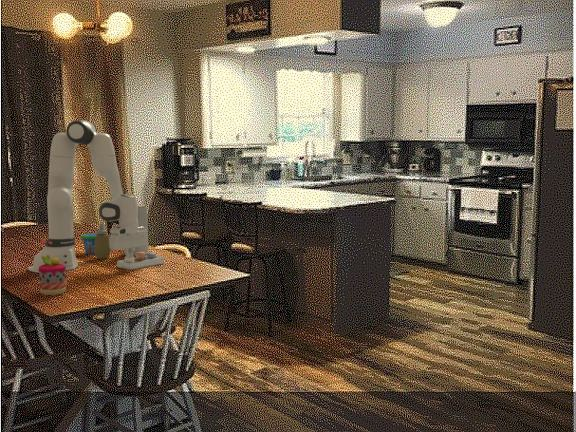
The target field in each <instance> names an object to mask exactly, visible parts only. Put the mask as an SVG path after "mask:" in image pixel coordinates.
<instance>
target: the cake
mask: <svg viewBox="0 0 576 432" xmlns="http://www.w3.org/2000/svg"><path fill="white" fill-rule="evenodd" d="M42 259H43V262H44V263H45V264H44V265H41V266H40V267H39V273H38V275H39V279H38V280H39V282H40V283H39V284H38V287H39V293H41V294H44V295H43V296H46V295H52V296H57V295H56V294H60V295H63V294H62V293H64V292H67V285H68V281H67V280H66V278H67V277H68V276H67V275H66V273H67V270H66V266H65V265H64V264H60V263H59V259H58V258H53V259H52V260H51V261H50V256H49V255H47V256H46V258H45V256H42ZM41 294H40V295H41ZM64 294H65V293H64Z"/></svg>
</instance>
